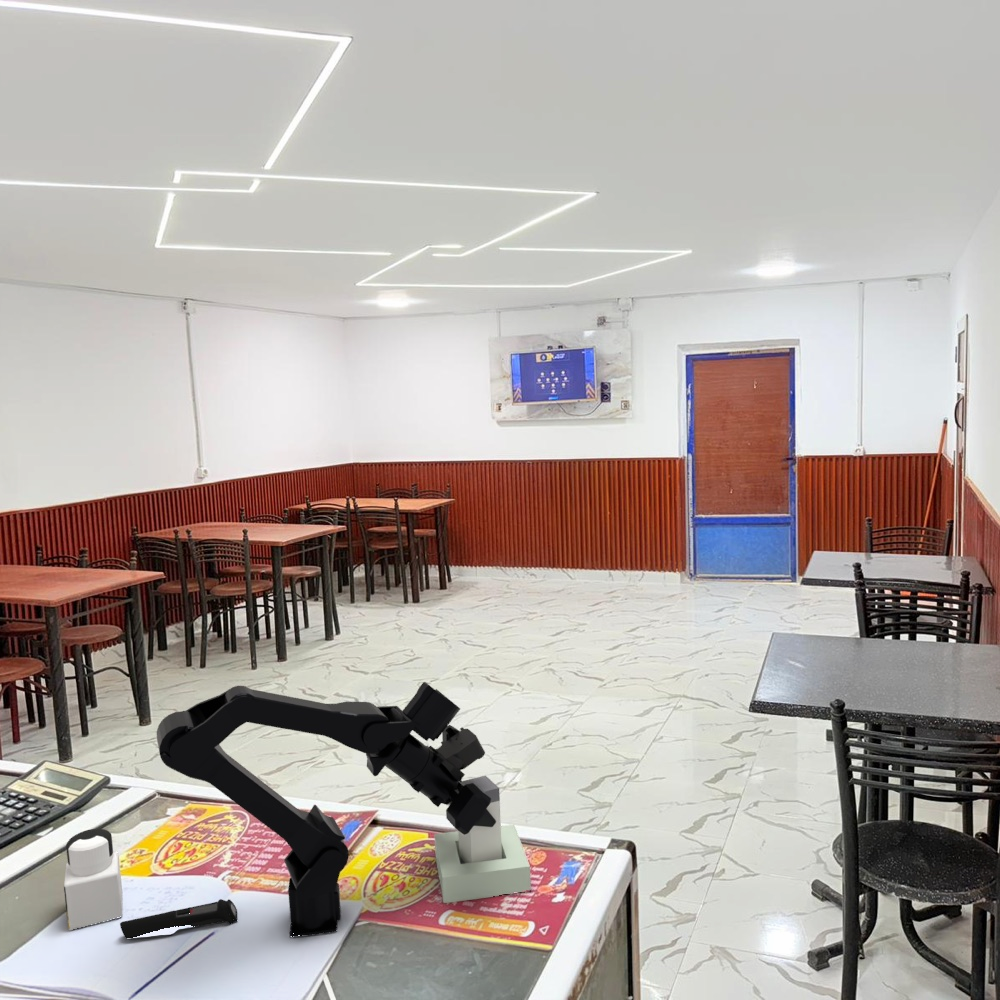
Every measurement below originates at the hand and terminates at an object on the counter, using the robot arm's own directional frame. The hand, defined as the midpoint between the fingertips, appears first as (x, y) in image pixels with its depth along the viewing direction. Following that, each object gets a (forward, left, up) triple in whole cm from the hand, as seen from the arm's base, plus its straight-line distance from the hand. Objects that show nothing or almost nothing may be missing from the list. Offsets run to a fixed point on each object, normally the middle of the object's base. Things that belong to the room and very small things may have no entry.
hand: (486, 816), depth 135 cm
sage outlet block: (-1, 0, -9) cm, 9 cm away
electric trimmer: (-45, -4, -9) cm, 46 cm away
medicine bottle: (-58, +3, -9) cm, 59 cm away
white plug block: (-1, 0, -7) cm, 7 cm away
